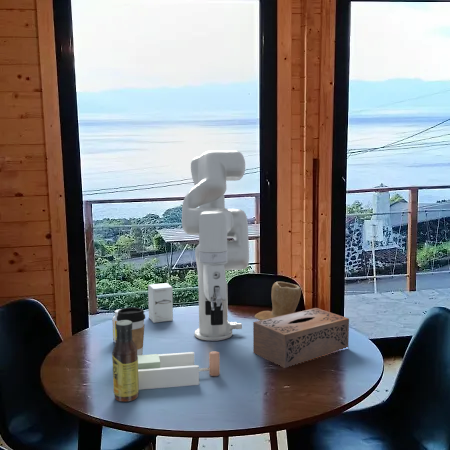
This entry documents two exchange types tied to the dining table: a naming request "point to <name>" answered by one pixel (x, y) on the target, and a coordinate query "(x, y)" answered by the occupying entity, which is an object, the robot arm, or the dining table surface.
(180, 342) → the dining table surface
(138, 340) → the coffee cup
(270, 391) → the dining table surface
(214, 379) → the dining table surface
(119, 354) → the sauce bottle
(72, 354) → the dining table surface
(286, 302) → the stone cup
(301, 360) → the tissue box cover
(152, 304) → the supplement box
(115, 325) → the supplement bottle
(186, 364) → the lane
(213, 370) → the sliding handle
